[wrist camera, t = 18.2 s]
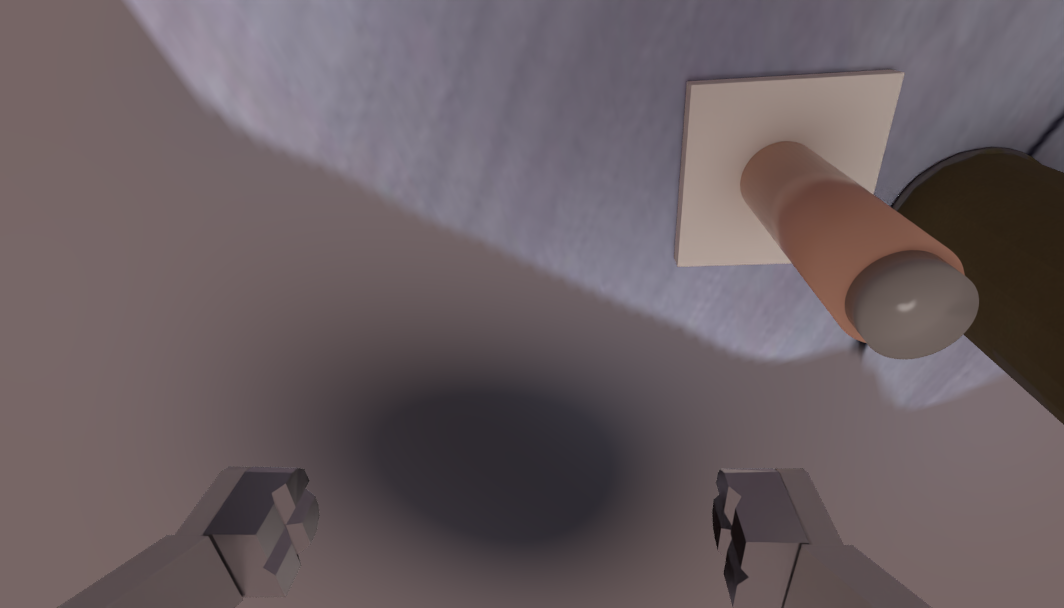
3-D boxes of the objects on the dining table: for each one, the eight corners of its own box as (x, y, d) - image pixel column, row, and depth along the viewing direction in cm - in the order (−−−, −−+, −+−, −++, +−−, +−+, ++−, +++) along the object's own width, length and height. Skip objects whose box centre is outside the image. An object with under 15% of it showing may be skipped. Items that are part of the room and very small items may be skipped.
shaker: (745, 143, 34) (867, 261, 20) (826, 139, 33) (1012, 256, 19) (736, 216, 36) (838, 368, 22) (811, 213, 36) (966, 366, 22)
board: (686, 81, 34) (691, 85, 32) (891, 69, 33) (904, 72, 31) (674, 257, 40) (677, 266, 38) (846, 252, 39) (856, 261, 37)
